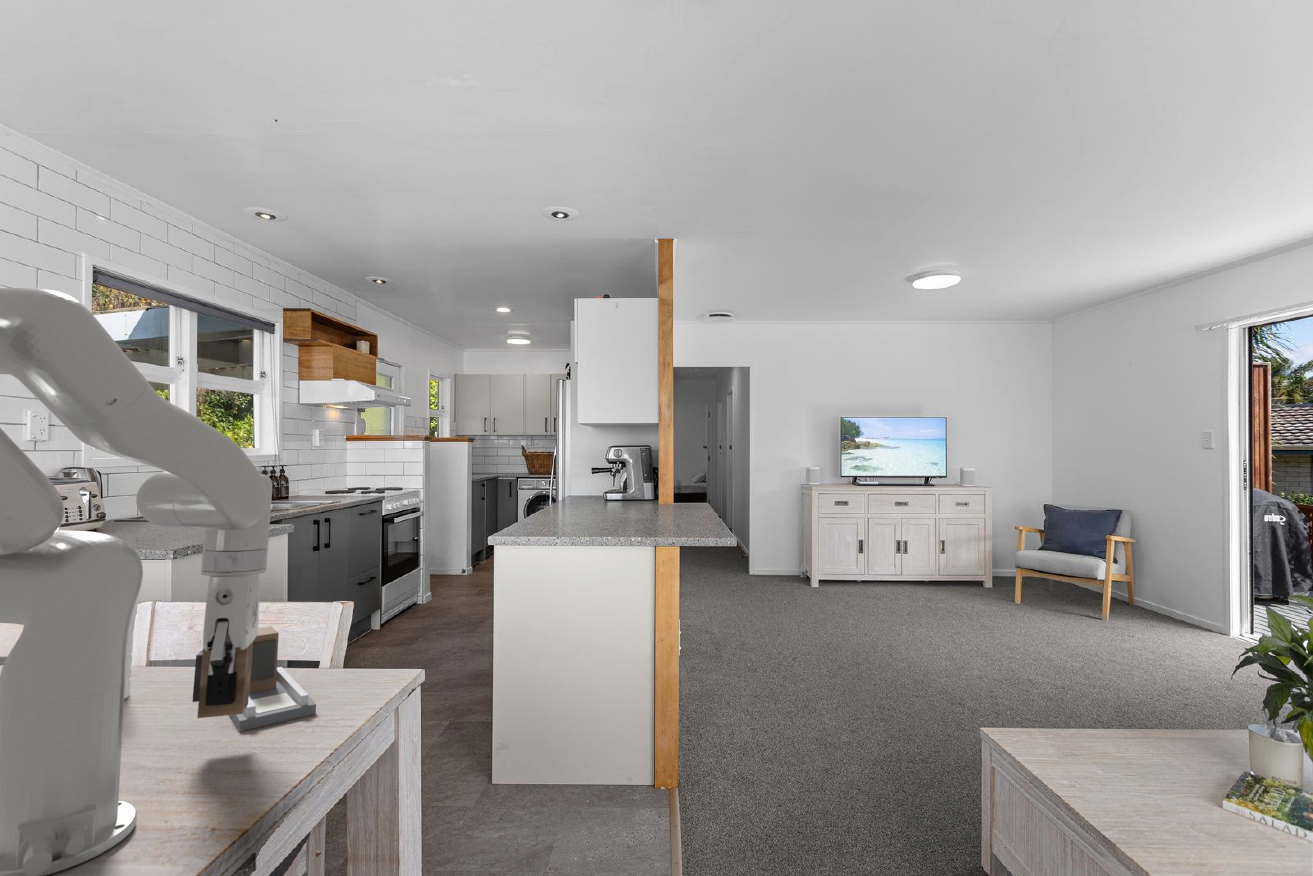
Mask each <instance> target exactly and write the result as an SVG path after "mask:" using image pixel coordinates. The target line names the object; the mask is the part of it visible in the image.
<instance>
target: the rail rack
mask: <svg viewBox="0 0 1313 876" xmlns="http://www.w3.org/2000/svg"><path fill="white" fill-rule="evenodd" d="M278 651H279V632H278V631H277V630H276V629H275V628H274V627H273V626H263V627H258V634H257V636H256V638H255V639H254V640H253V646H252V659H251V672H250V685H249V699H248V705H247V707H246V708H245V710H244V712H243V713H242V714H237V715H231V717H230V719H231V720H232V719H233V720H232V721H234V722H233V723H234V725H235V724H236V725H235V726H237V727H236V728H237V730H238V729H239V730H238V732H239V731H240V732H243V731H242V730H244V731H247V729H249V730H252V729H251V728H253V729H256V728H261V727H264V726H269V725H274V724H278V723H283V722H287V721H290V720H291V721H292V720H296V719H299V718H303V717H308V716H314V715H316V714H317V712H316V711H317V703H316V702H315V701H314V700H313V699H312V698H311V697H310V696H309V694H308V693H307V692H306V691H305V690H304V689H303V688H302V687H301V685H300V684H299V683H298V682H296V681H295V679H294V678H293V677H292V676H291V675H290V674H289V673H288V672H287V671H286V670H285V669H284V668H283V666H278V655H279V652H278Z"/></svg>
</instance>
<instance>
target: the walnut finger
mask: <svg viewBox="0 0 1313 876" xmlns="http://www.w3.org/2000/svg"><path fill="white" fill-rule="evenodd" d="M232 646H233V644H232V645H226V647H225V649H232ZM252 646H253V642H252V643H251V644H250V645H249V646H248V647H247V648H246V649H244V650H240V647H238V648H237V654H236V663H235V671H234V672H237V681H236V694H235V701H234V702H233V703H232V704H225V705H214V706H207V705H206V691H207V678H208V672H209V663H210V655H211V651H210V652H207V651H205V650H204V649H203V648H202V649H201V650H200V651H199V652H198V653H197V654H196V656H195V667H194V677H193V688H192V689H193V691H192V692H193V693H192V703H193V702H194V703H197V702H198V707H197V708H198V709H197V719H203V718H215V717H224V716H225V717H226V716H230V715H237V714H242V713H243V712H244V710H245V708H246V707H247V705H248V699H249V685H250V672H251V659H252ZM210 649H211V648H210ZM225 656H228V657H229V658H230V654H225Z"/></svg>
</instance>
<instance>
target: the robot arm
mask: <svg viewBox="0 0 1313 876" xmlns="http://www.w3.org/2000/svg"><path fill="white" fill-rule="evenodd" d="M0 375H10V376H13V377H14V378H15V379H17V380H18V381H19V382H20V383H21V384H22V385H23V386H24V387H25V388H26V389H27V390H28V391H29V392H30V393H31V394H33V395H34V396H35V397H36V398H37V399H38V400H39V401H40V402H41V403H42V404H43V405H44V406H45V407H46V408H47V410H49V411H50V412H51V413H52V414H53V416H55V417H56V419H58V420H59V421H60V422H61V423H62V425H64V426H65V427H66V428H67V429H68V430H69V431H70V433H72V434H73V436H75V438H76V439H78V440H79V441H80V442H82V443H84V444H86V445H87V446H89V447H92V448H94V449H96V450H100V451H102V452H104V453H107V454H109V455H113V456H116V457H119V458H121V459H124V460H125V459H126V460H129V461H132V462H137V463H141V464H145V465H147V466H150V467H153V468H156V469H159V470H162V471H161V472H157V473H156V474H153V475H152V476H150V477H148V478H147V479H145V481H144V482H143V483H141V485H140V487H139V489H138V491H137V494H136V498H135V499H136V502H135V503H136V507H137V511H138V512H139V513H140V515H141V516H142V517H143V518H144V520H146V521H148V522H149V523H151V524H153V525H156V526H158V527H162V528H168V529H183V530H184V529H185V530H187V529H188V530H198V529H199V530H200V529H201V530H204V533H203V544H202V557H201V568H200V569H201V570H200V571H201V572H200V574H201V576H206V577H209V580H208V587H207V591H206V594H207V595H206V601H205V610H204V611H205V612H204V620H203V621H204V622H203V632H202V633H203V635H202V650H203V649H204V650H205V651H207V652H210V651H211V655H210V663H209V672H208V678H207V691H206V705H207V706H214V705H225V704H232V703H233V702H234V701H235V694H236V681H237V672H234V671H235V663H236V654H237V648H238V647H240V650H244V649H246V648H247V647H248V646H249V645H250V644H251V643H252V642H253V640H254V639H255V638H256V636H257V634H258V628H259V619H260V618H259V614H260V612H259V611H260V587H261V586H260V584H261V582H260V575H261V574H264V573H266V572H267V562H268V553H269V552H268V549H269V538H270V537H269V536H270V527H271V526H270V525H271V523H270V522H271V511H272V510H271V509H272V494H273V482H272V479H271V477H270V476H269V475H267V474H262V473H260V471H259V470H258V468H257V467H256V466H255V464H254V463H253V462H252V460H251V459H250V458H249V456H247V453H245V451H244V450H243V449H242V448H241V447H240V446H239V445H238V444H237V442H235V441H233V440H232V439H231V438H229V437H228V436H227V435H226V434H224V433H223V432H222V431H220V430H219V429H216V428H215V427H213V426H211V425H210V424H208V423H207V422H205V421H203V420H202V419H200V418H198V417H196V416H195V415H193V414H192V413H189V412H188V411H186V410H185V409H183V408H181V407H179V406H177V405H175V404H173V403H171V402H169V400H168V401H167V400H166V399H164V398H163V397H162V396H161V395H160V394H159V393H158V392H157V391H156V389H155V388H154V387H153V386H152V385H151V384H150V382H149V381H148V380H147V379H146V378H145V376H144V375H143V374H142V373H141V372H140V371H139V369H138V368H137V367H136V366H135V364H134V363H133V362H132V360H131V359H130V358H129V357H128V356H127V354H126V353H125V352H124V350H122V348H121V347H120V346H119V345H118V343H117V342H116V341H115V340H114V339H113V337H112V336H111V335H110V334H109V332H108V331H107V330H106V329H105V327H104V326H103V325H102V323H100V321H99V320H98V319H97V318H96V317H95V315H94V314H93V313H92V312H91V311H90V309H88V308H87V307H86V306H85V305H84V304H83V303H82V302H80V301H79V300H77V299H75V297H72V296H71V295H68V294H66V293H63V292H60V291H56V290H51V289H45V288H32V287H31V288H30V287H28V288H26V287H25V288H24V287H23V288H22V287H21V288H20V287H19V288H16V287H12V288H11V287H8V288H7V287H6V288H5V287H0ZM64 517H65V506H64V502H63V499H62V495H61V494H60V492H59V491H58V489H57V488H56V486H55V485H54V483H53V482H52V480H51V479H49V477H48V476H47V475H46V474H45V473H44V472H43V471H42V470H41V469H40V467H38V466H37V465H36V463H34V462H33V461H32V459H31V458H29V456H28V455H27V454H26V453H25V452H24V451H23V449H21V448H20V447H19V446H18V445H17V444H16V443H15V442H14V441H13V440H12V439H11V437H9V435H7V433H6V432H5V431H4V430H3V428H1V427H0V624H12V625H15V624H17V625H20V626H22V625H23V628H22V632H21V633H20V634H19V637H18V639H17V640H16V642H15V644H14V645H13V647H12V649H11V650H10V652H9V653H8V655H7V657H6V659H5V660H4V662H3V666H2V668H1V671H0V876H47V875H51V874H54V873H57V872H58V873H59V872H60V871H64V870H67V869H69V868H72V867H75V866H78V865H80V864H82V863H84V862H87V861H89V860H91V859H93V858H96V857H98V856H100V855H101V854H103V853H105V852H107V851H108V850H110V849H112V848H113V847H115V846H116V845H117V844H118V843H119V844H120V842H122V841H123V840H124V839H125V838H126V837H127V836H128V835H130V834H131V832H132V831H133V829H134V828H135V827H136V824H137V813H138V812H137V809H136V807H135V806H134V805H133V804H131V803H129V802H126V801H124V800H119V799H120V798H119V797H120V783H121V781H120V779H121V765H122V763H121V761H122V744H123V742H122V741H123V729H124V728H123V727H124V726H123V724H124V723H123V722H124V707H125V706H124V704H125V703H124V702H125V699H124V689H125V667H126V653H127V643H128V635H129V629H130V624H131V619H132V615H133V612H134V611H135V608H136V604H137V600H138V598H139V595H140V590H141V588H142V583H143V576H144V570H143V562H142V560H141V558H140V555H139V553H138V552H137V550H136V549H135V548H134V547H133V546H132V545H131V544H129V543H128V542H127V541H126V540H123V539H121V538H119V537H116V536H114V535H111V534H105V533H103V532H96V531H84V530H69V529H68V530H65V529H63V530H62V529H60V528H61V525H62V524H63V523H62V522H63V519H64ZM59 529H60V530H59ZM232 644H233V646H232V649H225V647H226V645H232ZM210 648H211V649H210ZM225 654H230V658H229V657H228V656H225Z"/></svg>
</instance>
